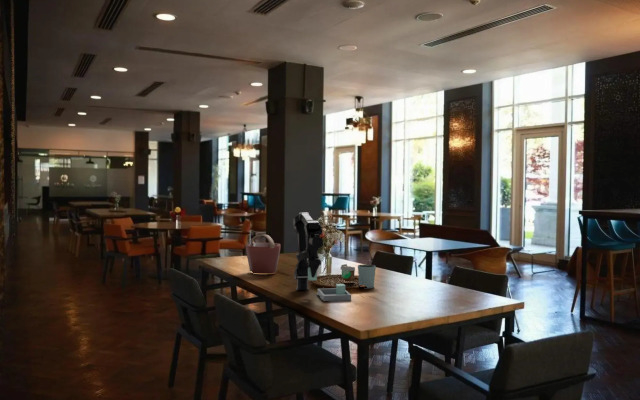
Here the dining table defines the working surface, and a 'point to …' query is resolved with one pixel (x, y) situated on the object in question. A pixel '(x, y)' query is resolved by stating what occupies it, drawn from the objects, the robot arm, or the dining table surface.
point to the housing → (335, 294)
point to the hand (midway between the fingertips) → (312, 276)
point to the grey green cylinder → (366, 275)
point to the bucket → (263, 255)
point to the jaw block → (311, 275)
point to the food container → (347, 272)
